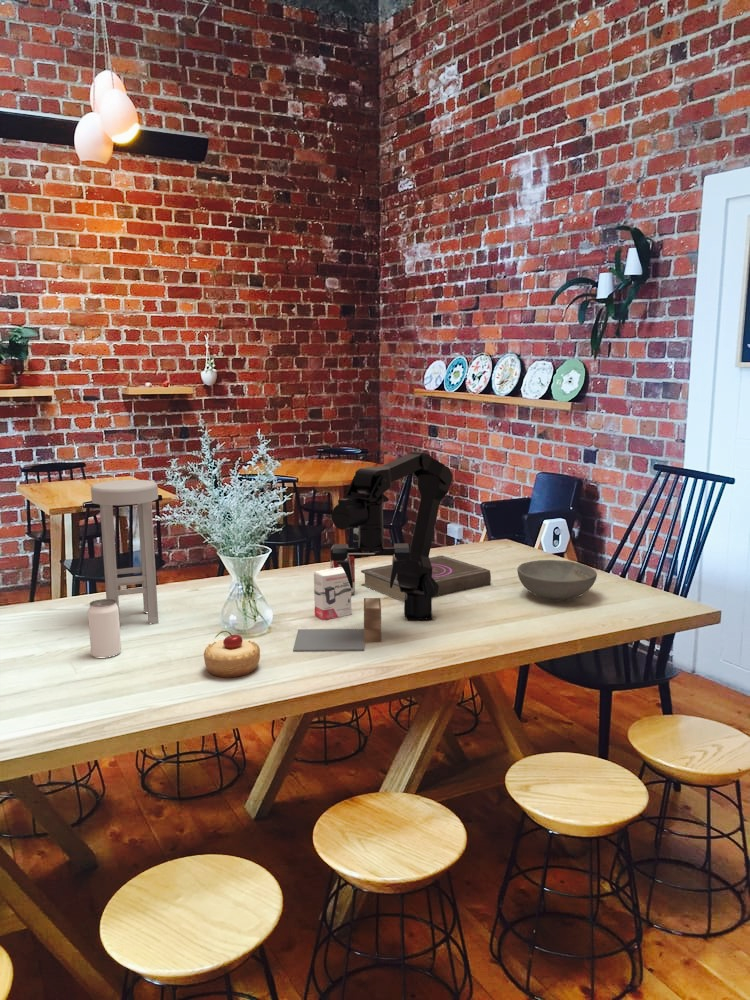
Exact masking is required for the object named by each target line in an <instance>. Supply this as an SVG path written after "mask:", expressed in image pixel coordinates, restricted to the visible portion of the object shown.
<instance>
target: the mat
mask: <svg viewBox="0 0 750 1000" xmlns="http://www.w3.org/2000/svg"><path fill="white" fill-rule="evenodd" d="M364 651H365V643H364V628H310V629H308V628H303V629H302V628H301V629H298V630H297V633H296V637H295V642H294V645H293V649H292V652H293V653H295V652H299V653H300V652H364Z"/></svg>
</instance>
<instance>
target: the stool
mask: <svg viewBox="0 0 750 1000" xmlns="http://www.w3.org/2000/svg"><path fill="white" fill-rule="evenodd" d="M158 490H159V489H158V484H157V483H156V482H155V481H154V480H148V479H147V480H146V479H122V480H117V479H116V480H110V481H103V482H98V483H95V484H91V486H90V494H91V496H90V498H91V502H92V504H95V505H99V509H100V524H101V538H102V539H101V540H102V554H103V555H102V556H103V567H104V568H103V569H104V570H103V571H104V583H105V584H104V585H105V599H114V600H116V604H117V606H118V609H119V610H120V600H119V597H120V596H127V595H136V594H137V595H138V594H142V597H143V598H142V599H143V601H142V602H143V612H144V611H145V612H148V614H147V619H148V621H149V622H148V621H147V622H148V624H149V623H158V624H159V609H158V592H157V591H158V589H157V576H156V575H157V574H156V573H157V572H156V571H157V570H156V557H155V539H154V536H155V535H154V520H153V502H154V501H156V500H158V499H159V491H158ZM127 505H128V506H129V505H130V506H131V505H137V515H138V531H139V532H138V534H139V550H140V566H136V567H135V566H134V567H125V568H117V567H118V566H117V556H116V555H117V553H116V541H115V540H116V538H115V524H114V510H113V509H114V507H113V506H127ZM134 573H135V574H136V573H141V575H134V576H123V577H118V575H125V574H134ZM132 585H142V587H136V588H135V587H134V588H124V589H119V587H121V586H122V587H123V586H124V587H125V586H132ZM119 623H120V624H121V617H120V613H119Z"/></svg>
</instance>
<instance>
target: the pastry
mask: <svg viewBox="0 0 750 1000" xmlns="http://www.w3.org/2000/svg"><path fill="white" fill-rule="evenodd" d="M222 633H227V634H229V635H228V636H226V637H225V638H224V639H220V640H218V641H214V642H212V644H210V643H209V644H208V646H206V647H205V649H204V652H203V659H204V664H205V667H206V669H207V671H208V672H209V673H210V674H211V675H212V676H215V677H218V678H237V677H238V678H239V677H242V676H247V675H249V674H251V673H253V672H254V671H255V669H256V668H257V667H258V665H259V662H260V659H261V650H260V646H259V645H258V644H257V643H256V642H255V641H251V640H245V639H244V638H242V635H240V634H231V632H230V631H227V630H222V631H220V632H218V633H217V634H216V635H215V637H214V639H216V638H217V637H218V636H219V635H221V634H222Z"/></svg>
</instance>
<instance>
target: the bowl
mask: <svg viewBox="0 0 750 1000" xmlns="http://www.w3.org/2000/svg"><path fill="white" fill-rule="evenodd" d="M516 571H517V577H518V579H519V580H520V583H521V584H522V586H523V587H524V588H525V589H526V590H527V591H529V592H530V593H531V594H533V595H535V596H537V597H539V598H543V599H546V600H553V601H555V600H556V601H560V600H561V601H564V600H571V599H575V598H578V597H580V596H582V595H584V594H586V593H587V592H588V591H589V590H590V589H591V588H592V587H593V585H594V584H595V582H596V581H597V577H598V574H597V571H596V570H595V569H593V568H592V567H591V566H588V565H587V564H584V563H579V562H575V561H570V560H569V561H568V560H561V559H560V560H559V559H557V560H555V559H539V560H533V561H531V560H530V561H528V562H523V563H521V564H520V565H518V567H517V570H516Z"/></svg>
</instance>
